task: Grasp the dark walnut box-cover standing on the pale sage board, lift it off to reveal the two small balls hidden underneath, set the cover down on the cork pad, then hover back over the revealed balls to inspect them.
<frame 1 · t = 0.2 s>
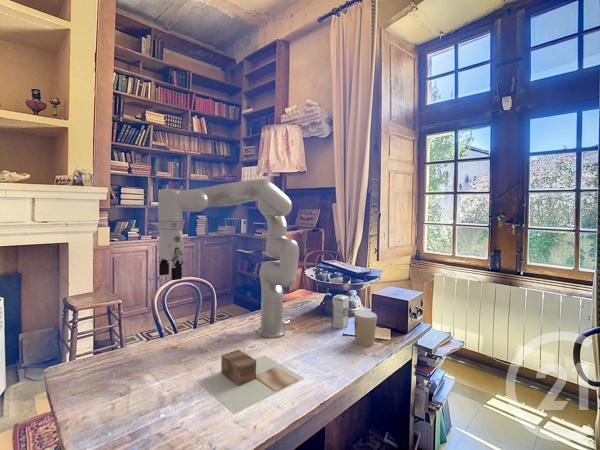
hand: (170, 277, 106), 31 cm above the table, fingers open, 9 cm apart
coffee cup: (364, 342, 131), on the table
cream ball: (242, 379, 99), point 1 cm above the table, touching sage board
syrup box: (339, 327, 148), on the table
sage board: (251, 383, 99), on the table
terracotta ball: (234, 373, 102), point 1 cm above the table, touching sage board
walnut cover: (238, 376, 100), point 1 cm above the table, touching sage board
cork pad: (275, 378, 99), resting on sage board
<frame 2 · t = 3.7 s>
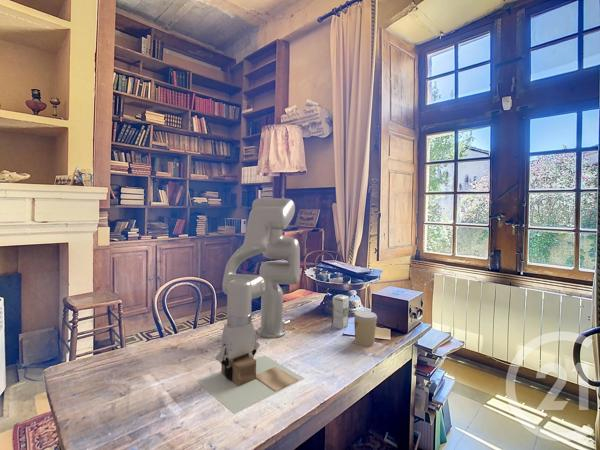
hand: (238, 374, 100), 2 cm above the table, fingers closed on walnut cover, 6 cm apart
walnut cover: (238, 376, 100), point 1 cm above the table, touching gripper, sage board
everything else where it was.
when the fingers open (3 cm above the table, at t = 9.6 s): walnut cover stays where it is, resting on cork pad.
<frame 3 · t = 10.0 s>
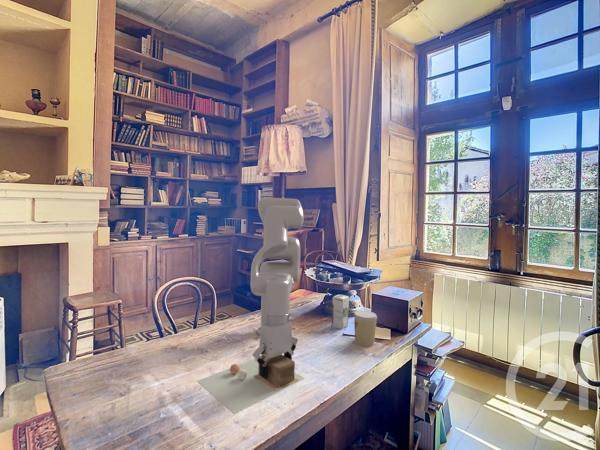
hand: (276, 371, 99), 3 cm above the table, fingers open, 9 cm apart
walnut cover: (276, 377, 99), point 1 cm above the table, touching cork pad
everything else where it was.
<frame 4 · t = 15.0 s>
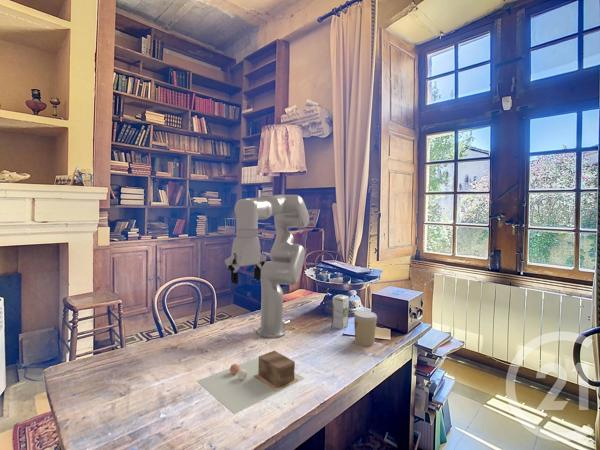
hand: (246, 281, 114), 28 cm above the table, fingers open, 9 cm apart
nothing on the table moved.
at the end: walnut cover 0.1 cm from the cork pad (horizontally); walnut cover tilted 0°; walnut cover point 1.5 cm above the table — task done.
